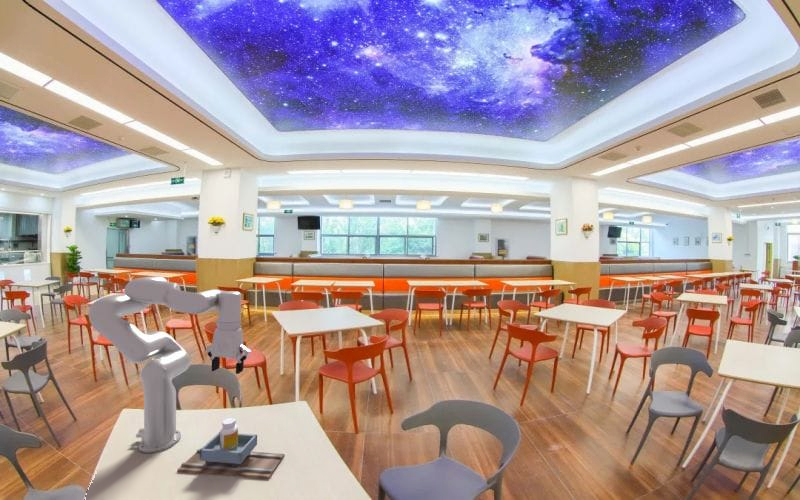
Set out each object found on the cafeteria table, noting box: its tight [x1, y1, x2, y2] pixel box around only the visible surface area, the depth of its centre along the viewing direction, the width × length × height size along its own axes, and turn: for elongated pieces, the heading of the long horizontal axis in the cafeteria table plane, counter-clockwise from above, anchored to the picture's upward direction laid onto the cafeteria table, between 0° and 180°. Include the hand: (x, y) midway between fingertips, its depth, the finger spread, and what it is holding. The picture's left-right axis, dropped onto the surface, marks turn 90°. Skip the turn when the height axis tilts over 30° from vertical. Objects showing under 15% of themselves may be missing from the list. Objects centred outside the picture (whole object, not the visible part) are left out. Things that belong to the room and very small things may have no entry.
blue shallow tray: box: [199, 432, 258, 468], centre depth 109 cm, size 14×10×6 cm
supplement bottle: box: [219, 417, 239, 451], centre depth 109 cm, size 5×5×10 cm
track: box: [177, 448, 285, 480], centre depth 109 cm, size 31×11×1 cm, turn 85°
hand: (227, 371), depth 119 cm, fingers open, 9 cm apart
